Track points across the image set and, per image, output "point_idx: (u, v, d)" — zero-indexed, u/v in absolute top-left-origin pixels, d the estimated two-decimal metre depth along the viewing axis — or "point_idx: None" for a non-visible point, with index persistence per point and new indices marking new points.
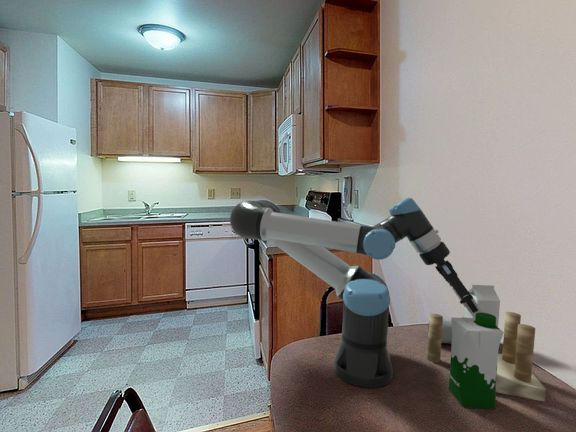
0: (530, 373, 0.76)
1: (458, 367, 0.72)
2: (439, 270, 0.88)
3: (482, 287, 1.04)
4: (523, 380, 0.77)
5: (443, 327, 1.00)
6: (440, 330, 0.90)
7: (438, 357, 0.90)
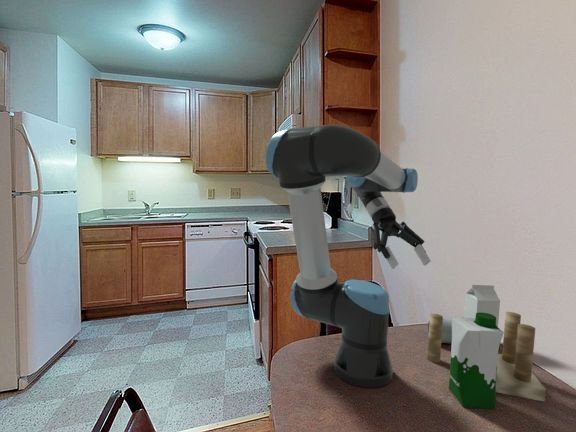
0: (530, 373, 0.76)
1: (458, 367, 0.72)
2: None
3: (482, 287, 1.04)
4: (523, 380, 0.77)
5: (442, 326, 1.01)
6: (440, 330, 0.90)
7: (438, 357, 0.90)
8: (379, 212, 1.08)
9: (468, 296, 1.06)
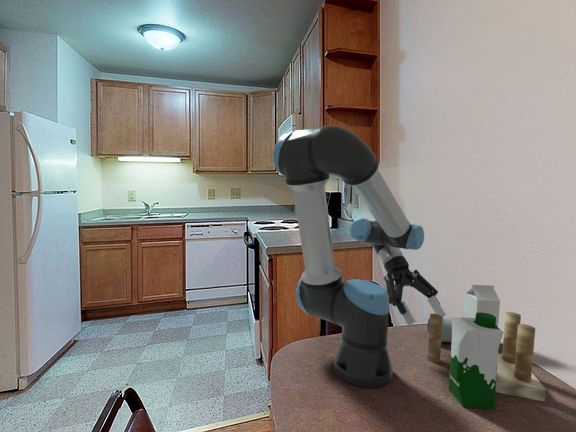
0: (530, 373, 0.76)
1: (458, 367, 0.72)
2: None
3: (482, 287, 1.04)
4: (523, 380, 0.77)
5: (442, 326, 1.01)
6: (440, 330, 0.90)
7: (438, 357, 0.90)
8: (392, 261, 1.04)
9: (468, 296, 1.06)
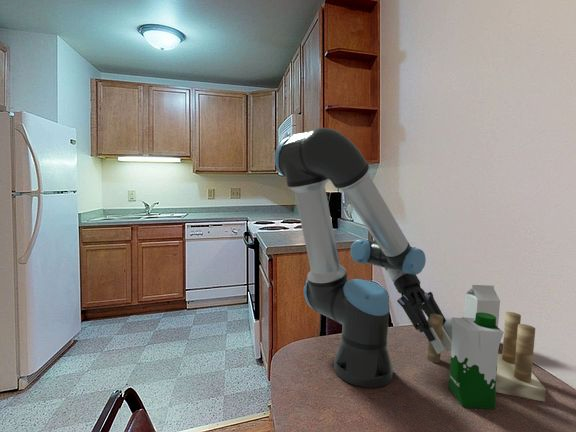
0: (530, 373, 0.76)
1: (458, 367, 0.72)
2: None
3: (482, 287, 1.04)
4: (523, 380, 0.77)
5: None
6: (440, 330, 0.90)
7: (438, 357, 0.90)
8: (403, 278, 0.98)
9: (468, 296, 1.06)
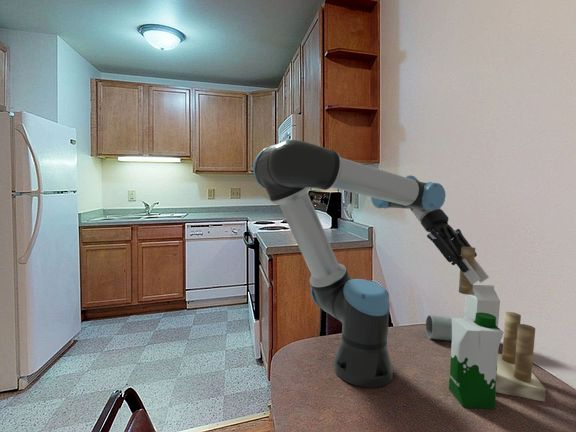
0: (530, 373, 0.76)
1: (458, 367, 0.72)
2: None
3: (482, 287, 1.04)
4: (523, 380, 0.77)
5: (440, 324, 1.03)
6: (473, 261, 0.88)
7: (471, 289, 0.88)
8: (431, 214, 0.96)
9: (468, 296, 1.06)
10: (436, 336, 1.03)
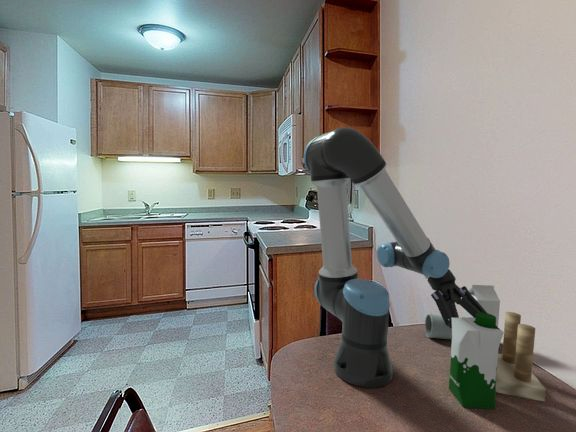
0: (530, 373, 0.76)
1: (458, 367, 0.72)
2: None
3: (482, 287, 1.04)
4: (523, 380, 0.77)
5: (439, 323, 1.04)
6: None
7: None
8: None
9: None
10: (435, 335, 1.04)
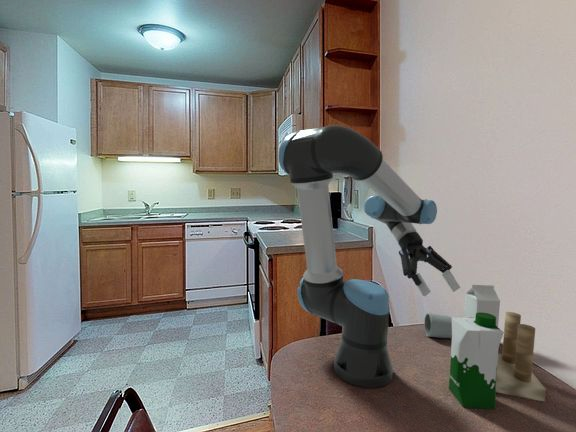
0: (530, 373, 0.76)
1: (458, 367, 0.72)
2: None
3: (482, 287, 1.04)
4: (523, 380, 0.77)
5: (438, 322, 1.05)
6: None
7: None
8: (407, 237, 1.07)
9: (468, 296, 1.06)
10: (434, 334, 1.05)
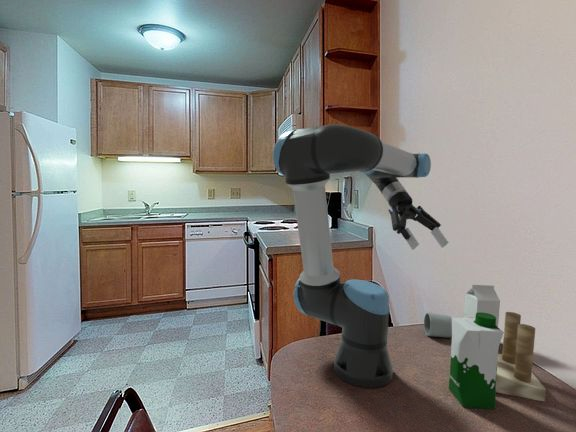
0: (530, 373, 0.76)
1: (458, 367, 0.72)
2: None
3: (482, 287, 1.04)
4: (523, 380, 0.77)
5: (437, 321, 1.05)
6: None
7: None
8: (396, 196, 1.09)
9: (468, 296, 1.06)
10: (434, 333, 1.05)
